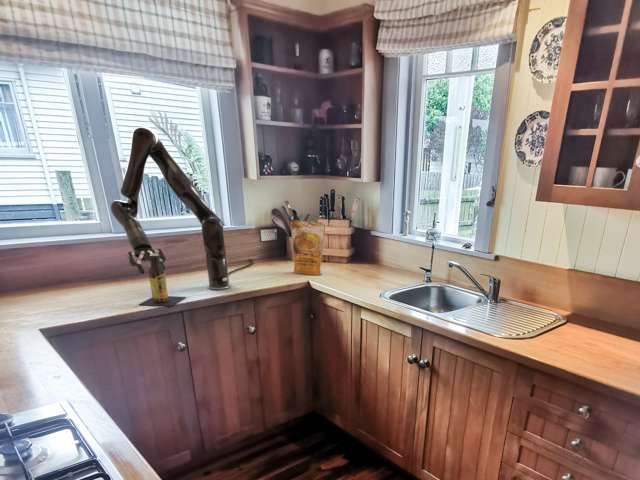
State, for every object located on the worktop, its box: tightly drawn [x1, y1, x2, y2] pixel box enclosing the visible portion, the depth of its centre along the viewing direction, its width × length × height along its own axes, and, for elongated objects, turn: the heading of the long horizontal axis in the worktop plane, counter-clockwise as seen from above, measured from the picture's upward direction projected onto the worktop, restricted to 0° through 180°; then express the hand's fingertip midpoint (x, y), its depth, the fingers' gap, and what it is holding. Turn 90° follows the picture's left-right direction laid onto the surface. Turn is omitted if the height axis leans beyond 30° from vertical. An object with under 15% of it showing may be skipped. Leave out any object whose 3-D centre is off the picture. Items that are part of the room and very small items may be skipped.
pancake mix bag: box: [289, 219, 326, 276], centre depth 255 cm, size 7×19×28 cm, turn 74°
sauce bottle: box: [148, 254, 169, 303], centre depth 198 cm, size 7×6×20 cm
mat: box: [139, 295, 186, 308], centre depth 203 cm, size 14×14×1 cm
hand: (153, 271), depth 200 cm, fingers open, 8 cm apart
